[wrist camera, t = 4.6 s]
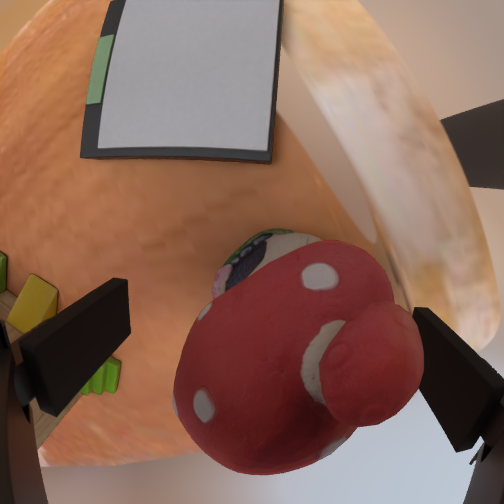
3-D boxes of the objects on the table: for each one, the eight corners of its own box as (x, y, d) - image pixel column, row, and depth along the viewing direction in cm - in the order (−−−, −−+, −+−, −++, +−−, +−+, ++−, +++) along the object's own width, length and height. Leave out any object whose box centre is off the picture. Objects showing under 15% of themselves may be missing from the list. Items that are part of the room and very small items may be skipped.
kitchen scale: (283, 3, 15) (284, -21, 13) (271, 164, 18) (270, 160, 15) (123, 14, 16) (106, -3, 13) (98, 159, 19) (74, 157, 16)
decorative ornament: (310, 194, 18) (424, 233, 4) (365, 277, 19) (495, 444, 5) (192, 279, 20) (57, 444, 6) (251, 351, 21) (217, 551, 6)
